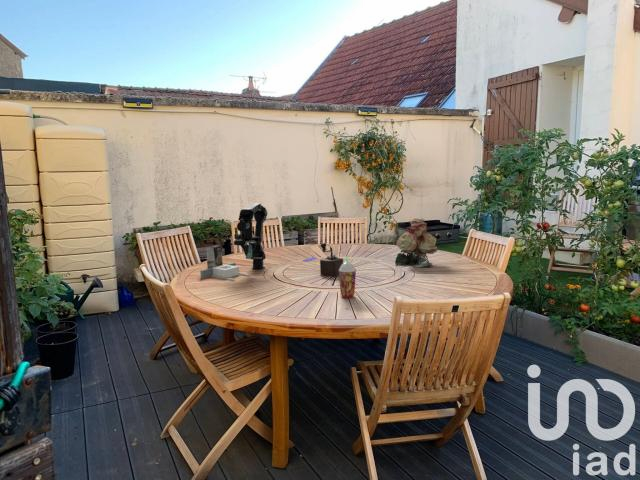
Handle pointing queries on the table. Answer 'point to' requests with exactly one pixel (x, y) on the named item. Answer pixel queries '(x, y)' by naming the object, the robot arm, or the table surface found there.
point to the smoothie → (347, 279)
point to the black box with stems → (330, 264)
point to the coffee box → (214, 256)
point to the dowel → (249, 252)
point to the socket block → (226, 271)
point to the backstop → (209, 273)
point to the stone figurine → (415, 245)
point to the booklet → (310, 259)
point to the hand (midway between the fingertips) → (248, 255)
